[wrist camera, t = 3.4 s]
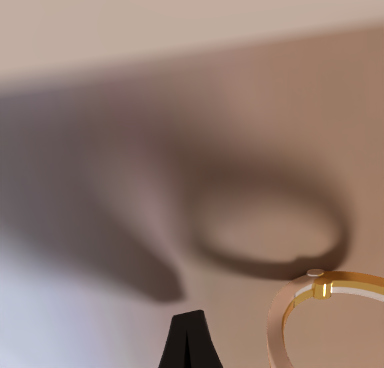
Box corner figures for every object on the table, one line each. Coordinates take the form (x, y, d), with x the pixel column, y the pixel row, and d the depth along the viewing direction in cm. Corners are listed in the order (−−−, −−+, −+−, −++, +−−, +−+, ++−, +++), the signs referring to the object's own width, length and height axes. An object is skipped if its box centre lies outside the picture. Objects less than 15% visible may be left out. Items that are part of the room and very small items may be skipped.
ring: (385, 237, 11) (787, 504, 4) (376, 290, 13) (678, 576, 5) (241, 260, 11) (371, 578, 4) (245, 310, 12) (353, 636, 5)
